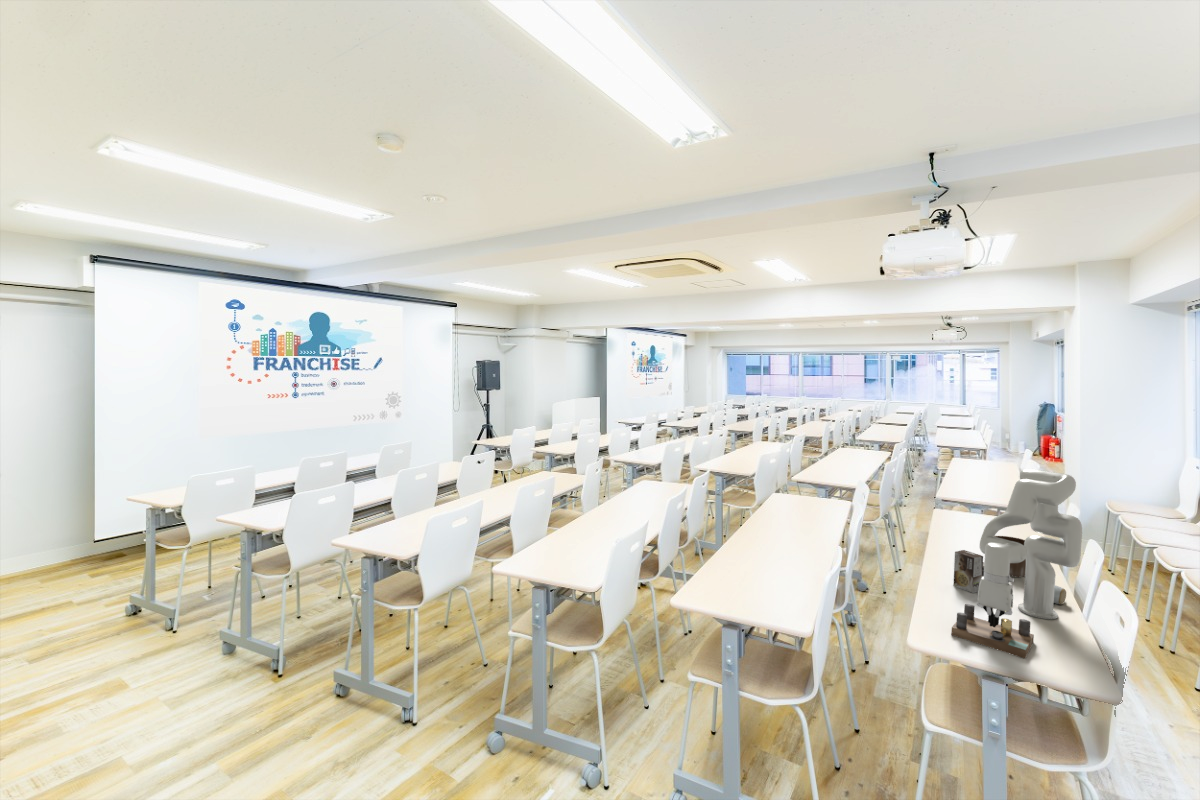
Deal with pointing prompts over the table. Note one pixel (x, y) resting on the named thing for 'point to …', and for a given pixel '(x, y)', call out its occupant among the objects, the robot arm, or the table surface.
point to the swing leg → (1003, 629)
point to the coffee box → (967, 570)
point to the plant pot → (1016, 568)
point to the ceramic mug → (1059, 595)
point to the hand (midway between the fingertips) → (993, 625)
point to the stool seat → (982, 633)
